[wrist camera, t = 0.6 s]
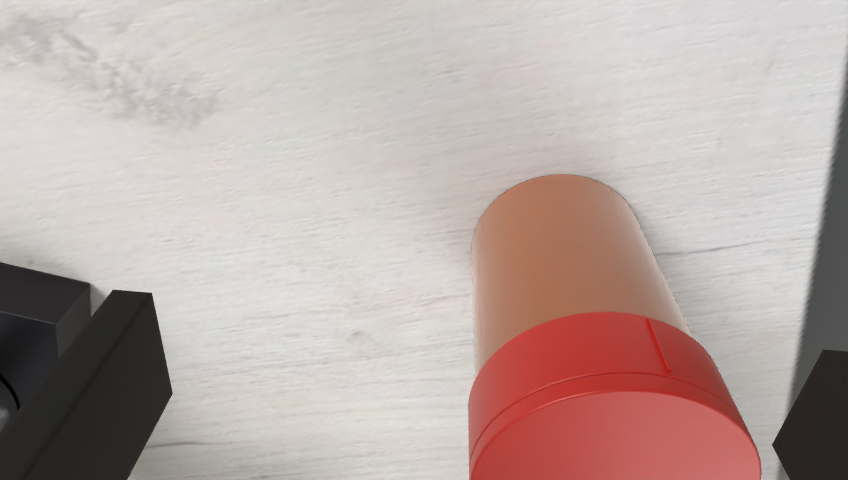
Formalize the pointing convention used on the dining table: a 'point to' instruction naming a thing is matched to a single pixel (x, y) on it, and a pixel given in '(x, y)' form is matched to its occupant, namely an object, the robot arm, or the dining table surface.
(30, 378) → the panel
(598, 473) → the lid
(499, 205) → the jar
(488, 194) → the dining table surface
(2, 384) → the dial
